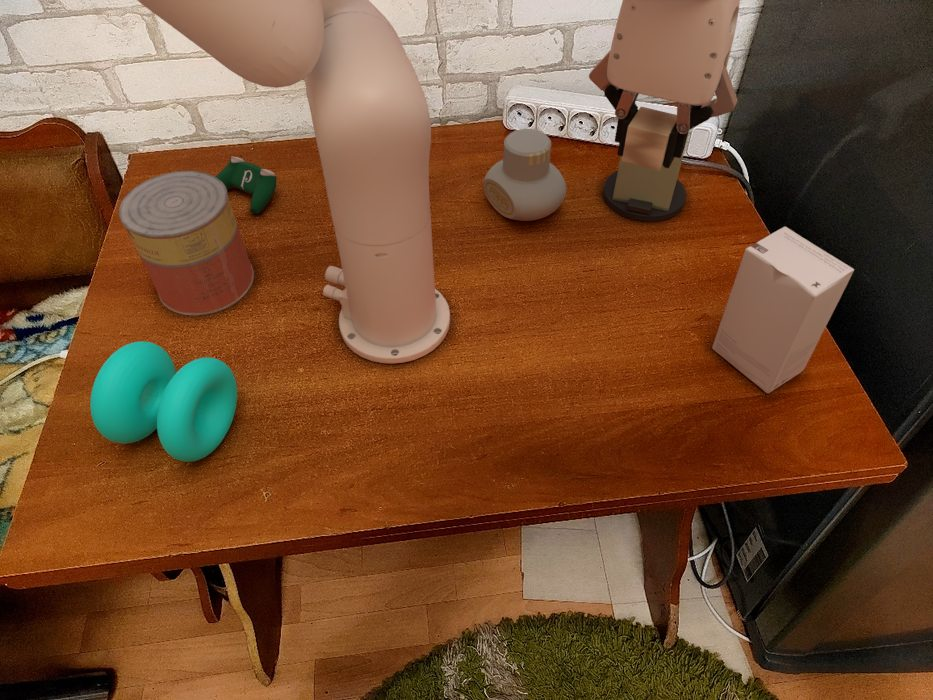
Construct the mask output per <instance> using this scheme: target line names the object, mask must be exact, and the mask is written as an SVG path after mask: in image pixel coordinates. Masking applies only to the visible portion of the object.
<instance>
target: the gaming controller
mask: <svg viewBox="0 0 933 700" xmlns="http://www.w3.org/2000/svg"><path fill="white" fill-rule="evenodd" d="M230 158H231V159H229V161H228V163H227V165H226V166H224V168H222V170H220V171H219V172H218V173H217V174H216V175H214V176H215V177H216V178H218V179H219V180H221V181H222V182H223V184H224V185H225V187H226V189H227V192H228V191H229V190H231V189H232V188H236V189H238V190H240V191H243V192H246V193H247V194H249V195H251V200H250V210H249V211H250V213H252V214H255V215H259V214H260V213H261V212H262V211H263V210H264V209H265V208H266V207H267V205H268V204H269V203H270V201H271V199H272V198H273V196H274V194H275V192H276V188H277V186H278V185H277V180H278V179H277V178H278V177H277V175H276V173H274V172H273V171H272V170H269V169H267V168H263V167H261V166H260V165H256V164H255V163H252V162H249V161H246V160H245V159H243V158H241V157H238V156H232V155H231V156H230Z"/></svg>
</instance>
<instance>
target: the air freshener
mask: <svg viewBox="0 0 933 700" xmlns="http://www.w3.org/2000/svg"><path fill="white" fill-rule="evenodd" d="M551 151H552V141H551V138H550V137H549V136H548V135H547V134H545V133H544V132H542V131H540V130H538V129H534V128H520V129H517V130H514V131H511V132H510V133H508V135H506V136H505V138H504V141H503V155H502V156H503V157H502V159H501V160H499V161H497V162H496V163H495V164H494V165H492V166H491V167H490V168H489V170H488V171H487V173H486V174H485V176H484V178H483V183H482V188H483V192H484V194H485V197H486V198H487V200H488V202H489V203H490V205H491V206H492V207H493V208H494V209H495V210H496V211H497V212H498V213H499V214H500V215H501V216H503V217H505V218H507V219H510V220H514V221H519V222H529V221H530V222H532V221H537V220H540V219H543V218H546V217H548V216H550V215H551V214H553V213H554V212H556V211H557V210H558V209H559V208H560V207H561V205H562V204H563V202H564V200H565V198H566V195H567V183H566V181H565V178H564V177H563V175H562V173H561V172H560V170H559V169H558V168H557V167H556V166H555V165H554V164H553V163H551V154H552V153H551Z"/></svg>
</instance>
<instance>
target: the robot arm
mask: <svg viewBox="0 0 933 700" xmlns="http://www.w3.org/2000/svg"><path fill="white" fill-rule="evenodd" d="M136 1H137V2H139V3H140V4H141V5H142V6H144V8H146V9H147V10H149V11H150V12H151V13H153V14H154V15H156V16H157V17H158V18H160V19H161V20H163V21H164V22H165V23H166V24H168V25H169V26H170V27H171V28H173V29H175V30H176V31H177V32H178V33H180V34H181V35H183V36H184V37H185V38H187V40H189V41H190V42H192V44H194V45H196V46H197V47H199V48H200V49H201V50H203V51H204V52H205V53H206V54H208V55H209V56H211V57H212V58H213V59H215V60H216V61H217V62H218V63H220V64H221V65H222V66H223V67H225V68H226V69H228V70H229V71H231V72H232V73H234V74H235V75H236V76H239V77H241V78H242V79H244V80H245V81H247V82H250V83H252V84H255V85H259V86H261V87H268V88H276V89H277V88H278V89H279V88H285V87H291V86H293V85H295V84H297V83H300V82H302V81H303V82H304V84H305V90H306V97H307V102H308V107H309V110H310V116H311V120H312V125H313V131H314V136H315V141H316V146H317V150H318V155H319V159H320V164H321V169H322V174H323V180H324V185H325V190H326V195H327V196H326V197H327V200H328V205H329V209H330V210H329V211H330V216H331V220H332V224H333V228H334V229H333V230H334V233H335V235H334V236H335V240H336V244H337V250H338V255H339V259H340V264H341V268H340V267H337V266H334V265H329V266H328V267H327V269H326V270H325V273H324V280H325V281H326V282H328V283H331V284H333V285H337V286H340V287H341V286H342V287H344V289H343V290H342V289H339V288H338V287H336V286H333V285H331V284H326V285H325V286H324V287H323V289H322V296H324V297H326V298H328V299H331V300H336V301H338V302H339V304H340V305H341V309H340V312H339V315H338V327H339V332H340V336H341V338H342V340H343V342H344V343H345V345H346V346H347V347H348V349H350V350H351V352H353V353H354V354H356V355H357V356H359V357H360V358H363V359H366V360H368V361H370V362H373V363H374V362H375V363H380V364H403V363H407V362H412V361H415V360H418V359H420V358H422V357H425V356H427V355H429V353H432V352H433V351H434V350H435V349H436V348H437V347H439V346H440V345H441V344H442V342H443V341H444V339H445V338H446V336H447V334H448V332H449V330H450V325H451V311H450V306H449V304H448V301H447V300H446V298H445V297H444V295H443V294H442V293H441V292H440V291H439V290H437V289H436V283H435V282H436V281H435V267H434V265H435V264H434V251H433V231H432V213H431V201H430V199H431V198H430V180H429V179H430V171H429V170H430V157H431V145H432V124H431V115H430V111H429V107H428V103H427V100H426V99H427V98H426V96H425V92H424V90H423V87H422V85H421V82H420V79H419V77H418V75H417V73H416V71H415V69H414V66H413V64H412V62H411V60H410V58H409V57H408V55H407V53H406V50H405V48H404V46H403V43H402V41H401V39H400V37H399V35H398V33H397V31H396V30H395V28H394V27H393V25H392V24H391V22H390V21H389V19H388V18H387V17H386V16H385V15H384V14H383V13H382V11H380V10H379V9H378V8H377V7H376V6H375V5H374V4H373V3H372V2H371V1H370V0H136ZM740 3H741V0H622V2H621V5H620V8H619V12H618V16H617V20H616V24H615V28H614V32H613V36H612V41H611V45H610V50H609V51H608V52H607V53H606V54H605V55H604V56H603V57H602V58H601V59H600V60H599V62H598V63H597V64H596V65H595V66H594V67H593V68H592V69H591V71H590V72H589V74H588V78H589V80H590V81H591V82H592V83H593V84H594V85H595V87H597V88H598V89H599V90H600V91H602V92H603V93H604V96H605V97H606V99H607V101H608V102H609V103H610V104H611V106H612V108H613V109H614V115H615V117H616V118H617V124H616V129H615V136H614V142H615V143H618V148H617V152H616V153H617V156H618V157H619V156H620V157H621V156H623V151H624V146H625V140H626V135H627V129H628V126H629V124H630V122H631V121H632V119H633V118H634V116H635V115H636V113H637V112H638V110H639V106H637V103H636V102H637V99H638V97H639V95H643V96H648V97H651V98H656V99H660V100H665V101H669V102H674V103H676V115H677V121H676V123H675V125H674V127H673V129H672V130H671V133H670V136H669V140H668V144H667V148H666V153H665V157H664V161H663V166H664V167H665V168H669V167H670V165H671V163H672V162H673V160H674V158H675V157H677V158H681V156H682V154H683V151H684V148H685V144H686V140H687V136H688V132H689V130H690V131H691V130H692V129H694V128H696V127H697V126H700V125H701V124H703V123H705V122H707V121H709V120H710V119H711V118H714V117H715V118H716V117H719V116H722V115H725V114H730V113H731V112H733V111H734V110H735V108H736V106H737V104H738V97H737V94H736V91H735V89H734V86H733V83H732V81H731V78H730V74H729V72H728V69H727V67H728V64H729V59H730V55H731V51H732V47H733V42H734V38H735V35H736V34H735V32H736V28H737V23H738V18H739V11H740V5H741V4H740ZM714 95H715V97H716V98H714ZM687 141H688V140H687ZM686 145H687V144H686ZM685 149H686V148H685Z"/></svg>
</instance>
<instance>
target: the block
mask: <svg viewBox="0 0 933 700" xmlns="http://www.w3.org/2000/svg"><path fill="white" fill-rule="evenodd" d="M676 121H677V114H675V113H670V112H666V111H661V110H658V109H655V108H650V107H645V106H640V107H638V112H637V113H636V115H635V116H634V118H633V119H632V121H631V122H630V124H629V126H628V129H627V135H626V140H625V146H624V151H623V157H622V161H623V162H627V163H631V164H634V165H638V166H642V167H646V168H650V169H653V170H657V171H660V170H661V169H662V167H663V161H664V157H665V153H666V148H667V144H668V140H669V136H670V133H671V130H672V129H673V127H674V125H675V123H676Z"/></svg>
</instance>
